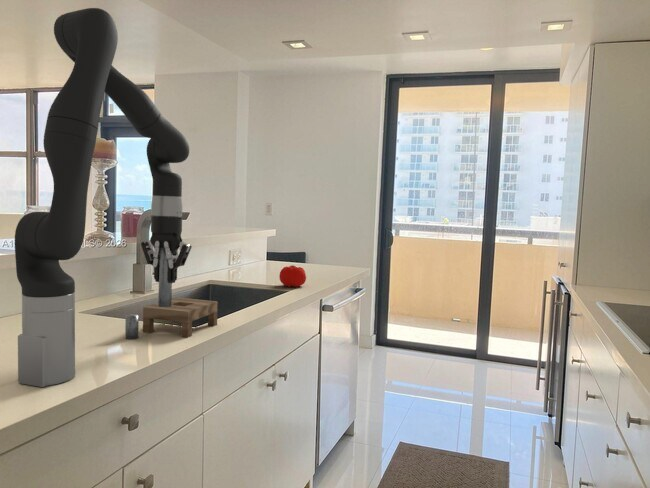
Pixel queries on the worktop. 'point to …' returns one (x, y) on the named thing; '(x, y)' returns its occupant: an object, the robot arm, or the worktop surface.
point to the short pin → (131, 326)
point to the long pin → (164, 281)
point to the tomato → (292, 276)
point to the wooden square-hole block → (180, 314)
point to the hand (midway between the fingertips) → (165, 281)
